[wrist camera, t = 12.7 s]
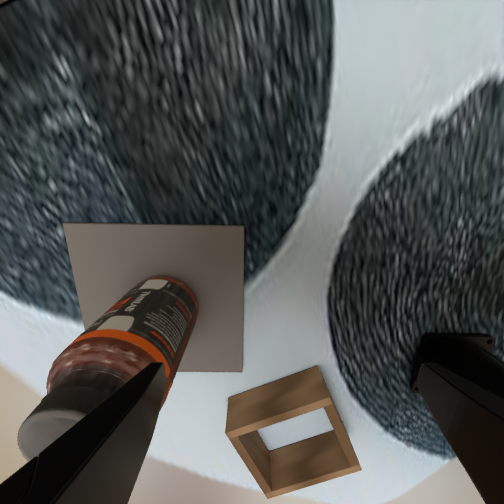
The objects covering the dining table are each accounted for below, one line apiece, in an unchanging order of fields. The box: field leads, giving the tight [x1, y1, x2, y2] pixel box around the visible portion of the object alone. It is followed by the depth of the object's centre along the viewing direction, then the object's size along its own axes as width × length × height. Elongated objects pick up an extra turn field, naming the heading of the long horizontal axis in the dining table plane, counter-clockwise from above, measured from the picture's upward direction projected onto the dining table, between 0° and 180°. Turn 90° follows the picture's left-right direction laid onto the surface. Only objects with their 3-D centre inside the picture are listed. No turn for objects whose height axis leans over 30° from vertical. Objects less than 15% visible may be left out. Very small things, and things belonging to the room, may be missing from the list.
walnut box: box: [225, 366, 362, 499], centre depth 23 cm, size 10×10×4 cm
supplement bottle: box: [18, 276, 198, 462], centre depth 15 cm, size 6×6×11 cm
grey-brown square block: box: [63, 222, 244, 372], centre depth 20 cm, size 14×14×1 cm
